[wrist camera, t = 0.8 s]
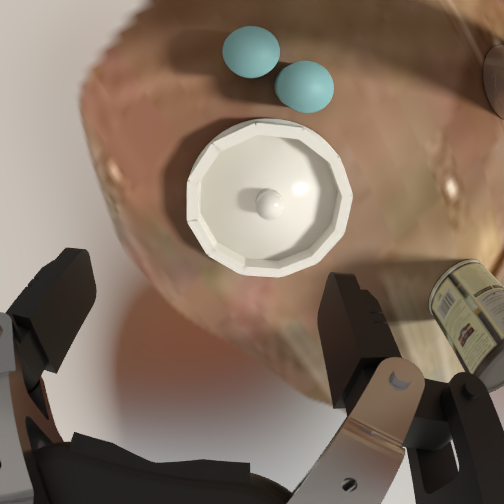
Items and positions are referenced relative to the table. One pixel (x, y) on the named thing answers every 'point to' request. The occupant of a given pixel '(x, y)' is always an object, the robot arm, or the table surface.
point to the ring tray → (268, 198)
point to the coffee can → (472, 319)
